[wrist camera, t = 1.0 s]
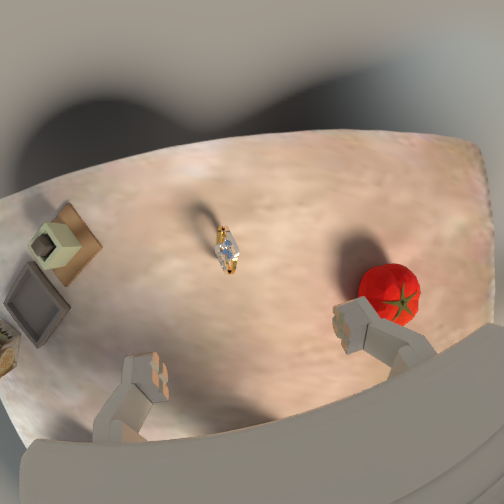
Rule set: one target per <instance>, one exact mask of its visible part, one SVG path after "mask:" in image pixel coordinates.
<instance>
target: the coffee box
mask: <svg viewBox="0 0 504 504" xmlns="http://www.w3.org/2000/svg"><path fill="white" fill-rule="evenodd" d="M20 336H21V334H20V333H18V332H17V331H16V330H15V329H13V328H12V327H11V326H10V325H9V324H7V323H6V322H5V321H4V320H0V378H1V377H2V376H4V375H5V374H7V373H8V372H9V371H11V370H12V369H13V368H15V367H16V363H17V356H18V349H19V342H20Z"/></svg>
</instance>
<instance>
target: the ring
mask: <svg viewBox="0 0 504 504" xmlns="http://www.w3.org/2000/svg"><path fill="white" fill-rule="evenodd" d="M227 238H228V240H227ZM231 246H232V248H233V250H232V249H231ZM220 247H221V250H222V252H220ZM233 251H234V255H232V253H233ZM215 253H216V256H217V258H218V260H219V262H220V264H221V266H222V269H223V271H224V275H225V274H234V272H235V269H236V264H237V258H238V256H239V249H238V246H237V244H236V242H235V240H234V238H233V236H232V234H231V232H230V230H229V228H228V226H224V228H223V226H219V228H218V232H217V244H216V246H215ZM229 259H231V267H230V266H229V263H228V262H229V261H230V260H229Z"/></svg>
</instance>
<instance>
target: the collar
mask: <svg viewBox="0 0 504 504" xmlns="http://www.w3.org/2000/svg"><path fill="white" fill-rule="evenodd" d="M38 236H49V237H50V238H51V239H52V241H53V242H54V244H55V245H56V248H55V250H54V251H53V252H52V253H51V255H47V256H38V257H37V255H36V254H35V252H34V251H33V249H32V248H31V245H32V243H33V242H34V241H35V239H36V238H37V237H38ZM28 246H29V248H30V249H31V251H32V253H33V254H34V256H35V257H36V259H37V260H38V262H39V263H40V265H41V266H42V268H43V269H44V270H48V269H54V268H59V267H64V266H66V265H67V263H68V262H69V261H70V260H71V259H72V258H73V256H74V255H75V254H76V253H77V252H78V251H79V250H80V248H81V247H82V245H81V244H80V242H79V241H78V240H77V238H76V237H75V236H74V234H73V233H72V231H71V230H70V229H69V227H68V226H67V224H61V223H51V222H45V223H44V224H43V226H42V227H41V228H40V230H39V231H38V232H37V233H36V235H35V236H34V237H33V239H32V240H31V241H30V243H29V244H28Z"/></svg>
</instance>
